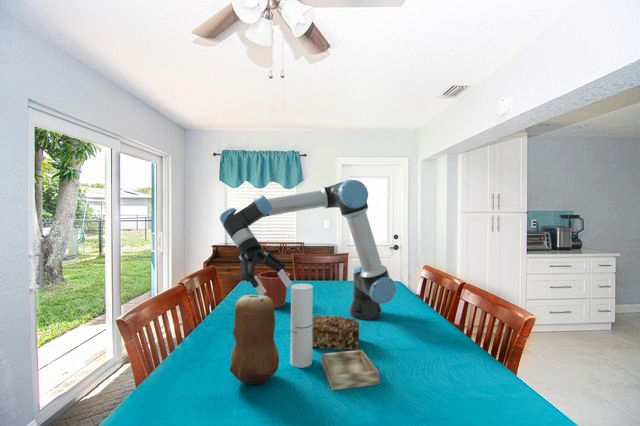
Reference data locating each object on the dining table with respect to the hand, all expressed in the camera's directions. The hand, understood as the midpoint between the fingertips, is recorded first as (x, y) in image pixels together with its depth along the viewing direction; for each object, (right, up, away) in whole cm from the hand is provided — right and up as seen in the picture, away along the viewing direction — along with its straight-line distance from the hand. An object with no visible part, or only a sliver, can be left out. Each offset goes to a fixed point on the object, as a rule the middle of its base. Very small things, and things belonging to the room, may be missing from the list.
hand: (277, 289), depth 104 cm
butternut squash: (-4, -23, -16) cm, 28 cm away
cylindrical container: (+9, -23, -5) cm, 25 cm away
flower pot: (-9, -22, +53) cm, 58 cm away
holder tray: (+23, -23, -12) cm, 35 cm away
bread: (+20, -23, +9) cm, 32 cm away
